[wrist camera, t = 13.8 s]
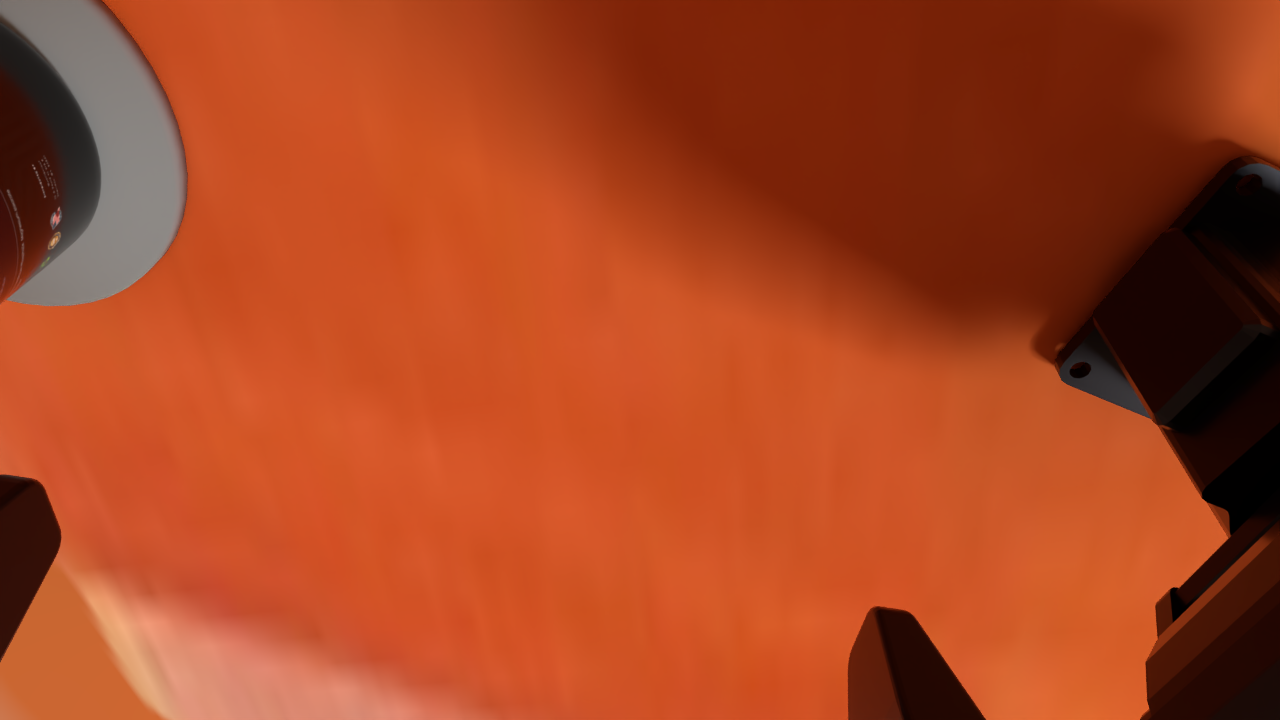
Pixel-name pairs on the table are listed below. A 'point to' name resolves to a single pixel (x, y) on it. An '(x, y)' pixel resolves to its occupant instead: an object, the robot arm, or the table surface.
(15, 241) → the supplement bottle
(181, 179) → the coaster
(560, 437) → the table surface
